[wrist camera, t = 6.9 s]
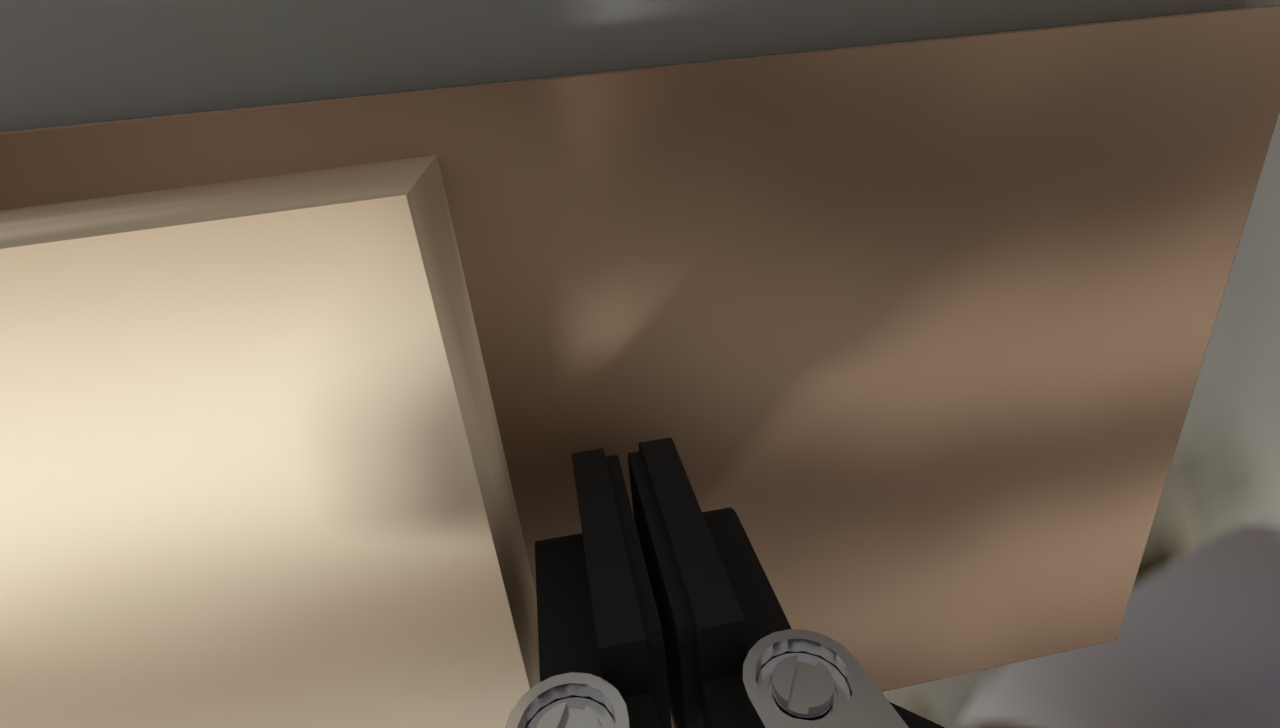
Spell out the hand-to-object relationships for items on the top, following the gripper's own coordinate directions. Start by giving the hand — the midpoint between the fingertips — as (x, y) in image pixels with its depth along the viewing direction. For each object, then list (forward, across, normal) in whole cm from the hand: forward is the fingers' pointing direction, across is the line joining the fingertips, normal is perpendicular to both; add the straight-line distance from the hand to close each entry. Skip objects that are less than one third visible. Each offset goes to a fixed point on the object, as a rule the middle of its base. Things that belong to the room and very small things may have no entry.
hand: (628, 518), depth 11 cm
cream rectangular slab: (+1, +6, 0) cm, 6 cm away
